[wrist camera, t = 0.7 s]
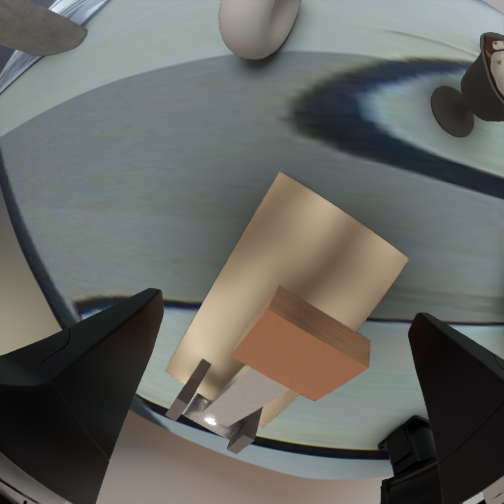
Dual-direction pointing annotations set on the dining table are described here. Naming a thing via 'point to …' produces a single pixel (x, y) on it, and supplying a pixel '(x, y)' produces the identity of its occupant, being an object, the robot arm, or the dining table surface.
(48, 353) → the robot arm
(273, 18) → the donut
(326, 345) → the lever
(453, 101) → the sundae
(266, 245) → the base
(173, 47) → the dining table surface
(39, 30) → the hip flask
